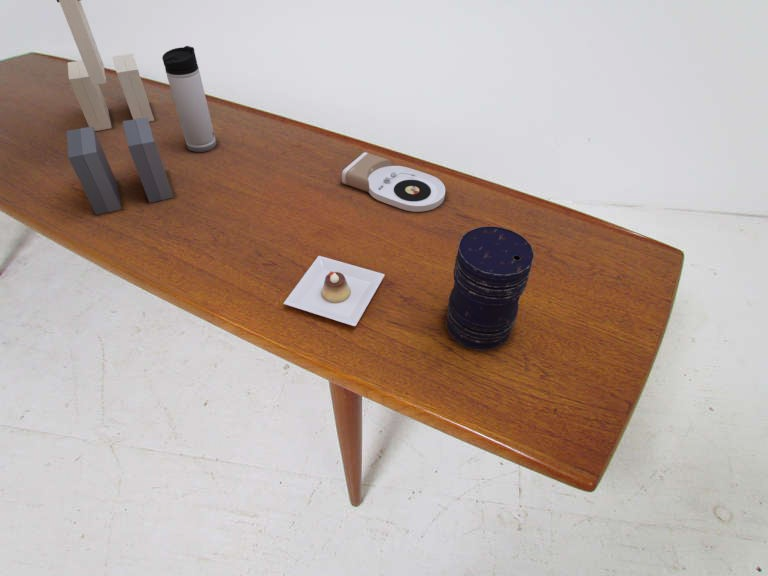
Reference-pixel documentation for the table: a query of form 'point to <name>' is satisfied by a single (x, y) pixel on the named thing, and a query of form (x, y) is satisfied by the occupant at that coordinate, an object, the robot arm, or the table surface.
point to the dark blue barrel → (488, 286)
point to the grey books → (98, 173)
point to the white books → (93, 97)
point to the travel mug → (189, 98)
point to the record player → (394, 183)
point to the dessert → (335, 290)
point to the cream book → (84, 40)
